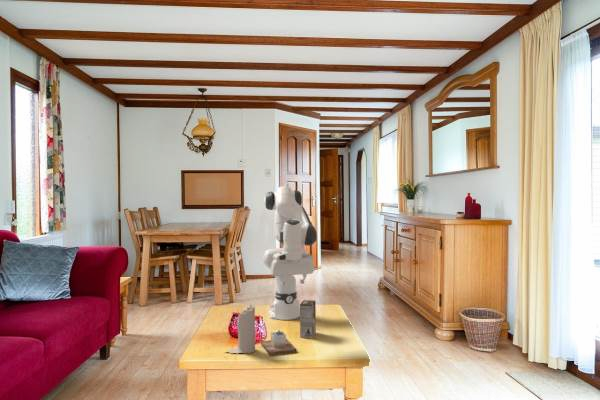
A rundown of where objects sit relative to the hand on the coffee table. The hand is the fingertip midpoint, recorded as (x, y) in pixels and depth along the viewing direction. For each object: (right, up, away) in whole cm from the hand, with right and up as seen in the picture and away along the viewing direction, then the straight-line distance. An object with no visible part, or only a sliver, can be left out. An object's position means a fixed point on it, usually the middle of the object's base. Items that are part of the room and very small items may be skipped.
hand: (292, 284), depth 198 cm
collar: (-6, -25, -10) cm, 28 cm away
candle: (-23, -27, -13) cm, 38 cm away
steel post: (-6, -25, -10) cm, 28 cm away
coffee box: (+7, -27, +9) cm, 29 cm away
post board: (-6, -27, -10) cm, 29 cm away
